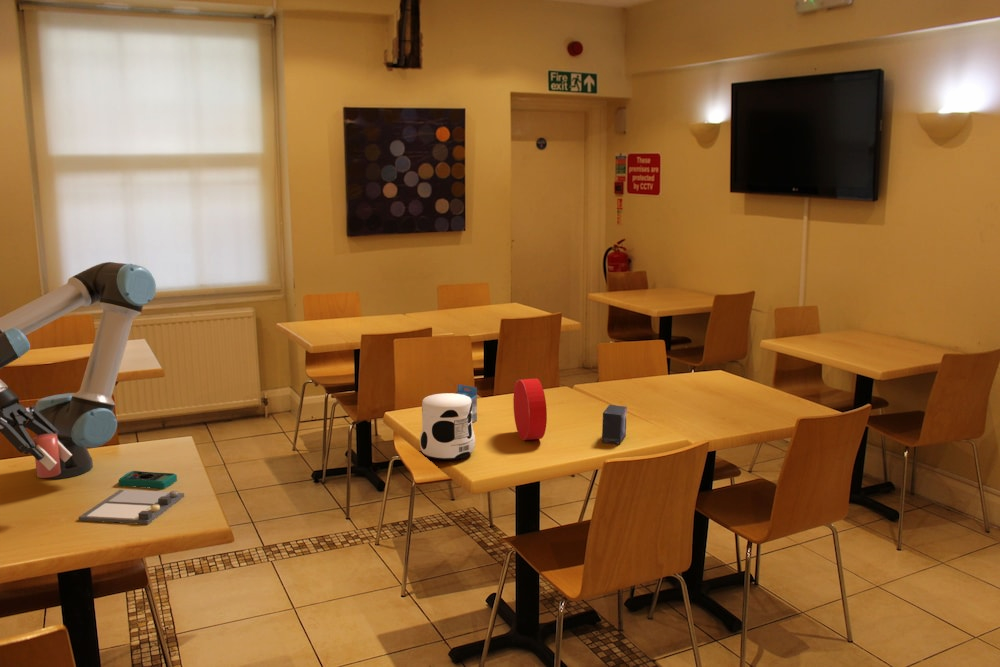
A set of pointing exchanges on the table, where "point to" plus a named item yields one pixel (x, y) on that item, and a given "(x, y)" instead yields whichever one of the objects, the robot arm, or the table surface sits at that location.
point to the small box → (614, 424)
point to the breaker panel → (132, 506)
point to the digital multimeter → (148, 479)
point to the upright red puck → (530, 409)
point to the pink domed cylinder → (51, 447)
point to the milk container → (447, 426)
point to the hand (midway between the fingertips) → (60, 462)
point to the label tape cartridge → (472, 395)
